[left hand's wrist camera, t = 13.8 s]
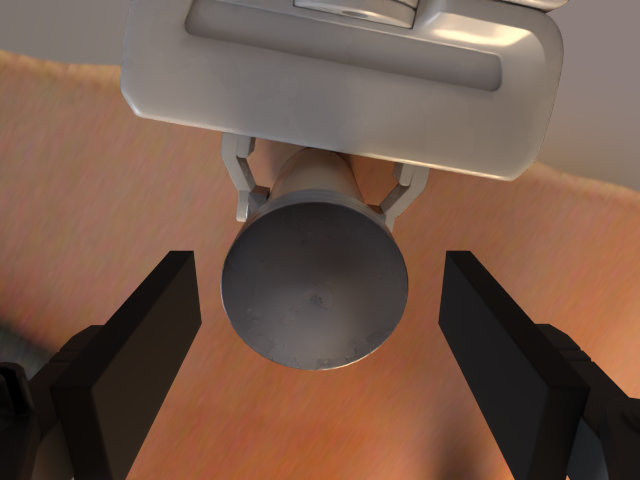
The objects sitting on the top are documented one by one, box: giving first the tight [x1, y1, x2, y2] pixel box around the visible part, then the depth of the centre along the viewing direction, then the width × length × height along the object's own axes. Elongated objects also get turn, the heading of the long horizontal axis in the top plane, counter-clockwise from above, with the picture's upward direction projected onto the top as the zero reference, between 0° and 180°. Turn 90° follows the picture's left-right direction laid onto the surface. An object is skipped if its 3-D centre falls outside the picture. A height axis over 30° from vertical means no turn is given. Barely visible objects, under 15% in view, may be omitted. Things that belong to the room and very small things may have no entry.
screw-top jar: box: [266, 148, 366, 205], centre depth 22 cm, size 6×6×16 cm
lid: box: [221, 189, 408, 370], centre depth 15 cm, size 6×6×2 cm
